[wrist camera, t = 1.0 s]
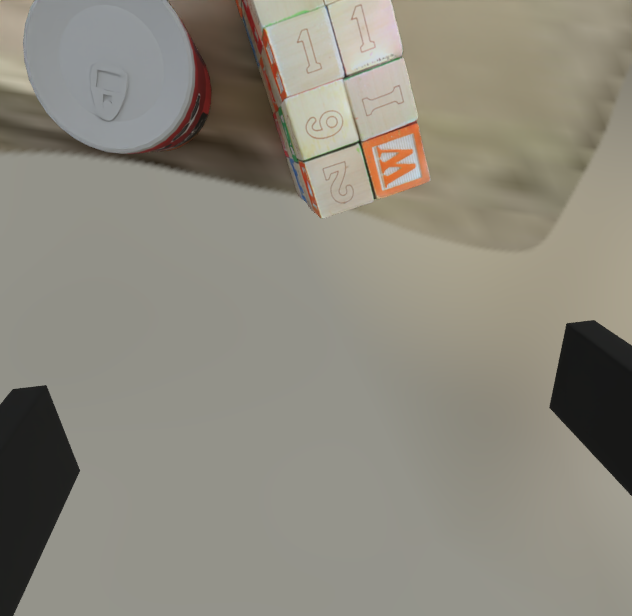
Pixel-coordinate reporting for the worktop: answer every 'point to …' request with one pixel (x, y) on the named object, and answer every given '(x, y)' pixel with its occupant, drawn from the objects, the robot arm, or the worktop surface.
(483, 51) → the worktop surface
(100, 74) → the canned food
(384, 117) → the stack of blocks
